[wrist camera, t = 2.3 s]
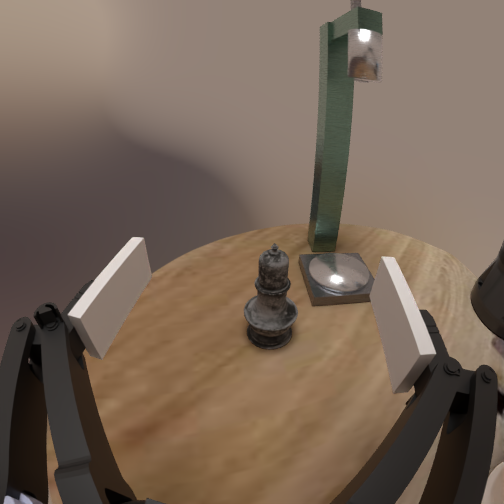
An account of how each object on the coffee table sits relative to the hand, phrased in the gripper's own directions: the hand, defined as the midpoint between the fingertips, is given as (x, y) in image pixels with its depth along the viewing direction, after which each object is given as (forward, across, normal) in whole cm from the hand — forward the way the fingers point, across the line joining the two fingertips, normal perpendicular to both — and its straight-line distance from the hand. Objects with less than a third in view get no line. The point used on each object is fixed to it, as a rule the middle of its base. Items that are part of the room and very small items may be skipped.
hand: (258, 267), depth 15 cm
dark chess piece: (+10, +1, -16) cm, 19 cm away
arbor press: (+24, +9, -16) cm, 31 cm away
